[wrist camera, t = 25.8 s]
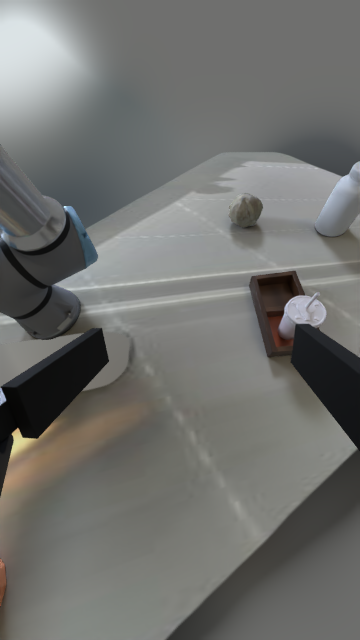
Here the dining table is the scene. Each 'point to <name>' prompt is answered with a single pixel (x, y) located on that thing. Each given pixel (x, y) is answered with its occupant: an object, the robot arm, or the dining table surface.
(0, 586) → the potted cactus
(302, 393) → the dining table surface
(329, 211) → the pill bottle
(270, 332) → the tray
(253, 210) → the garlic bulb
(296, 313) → the smoothie
